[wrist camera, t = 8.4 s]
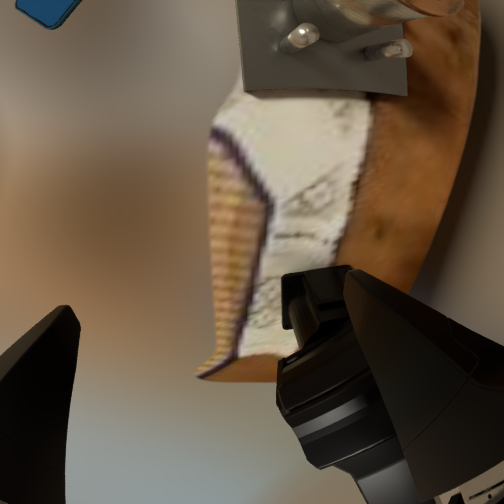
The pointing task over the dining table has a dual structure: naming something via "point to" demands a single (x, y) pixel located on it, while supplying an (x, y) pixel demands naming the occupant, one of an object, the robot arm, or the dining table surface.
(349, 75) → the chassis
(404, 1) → the canister
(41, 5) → the smartphone
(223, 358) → the dining table surface
